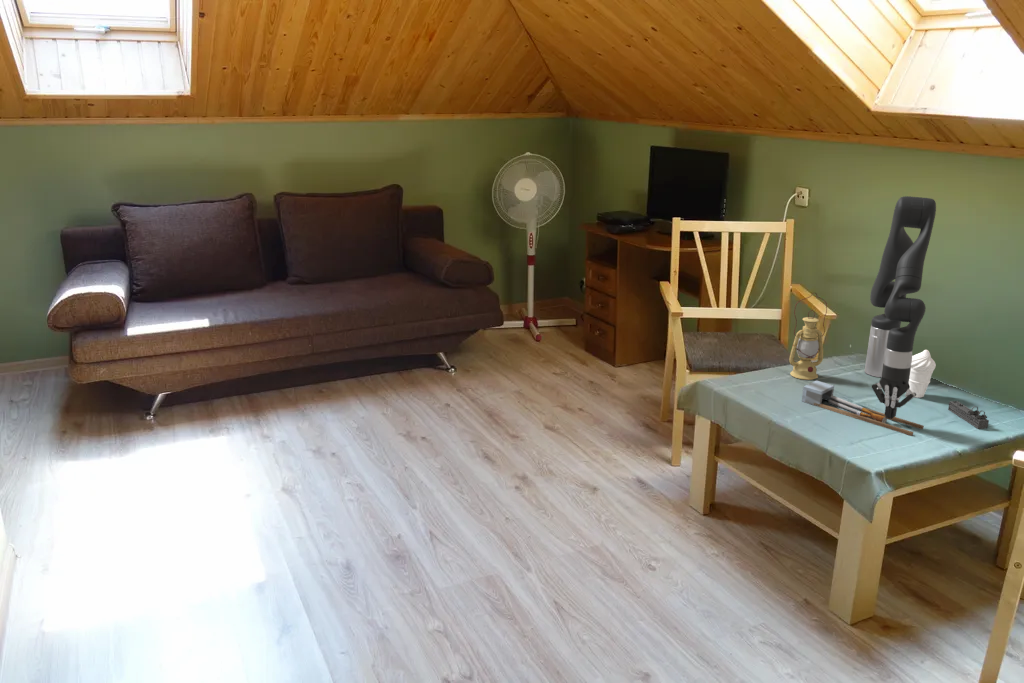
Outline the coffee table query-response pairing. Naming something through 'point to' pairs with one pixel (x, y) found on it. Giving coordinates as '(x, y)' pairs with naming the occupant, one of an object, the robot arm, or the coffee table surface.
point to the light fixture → (969, 415)
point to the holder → (821, 390)
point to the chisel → (871, 415)
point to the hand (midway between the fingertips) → (889, 417)
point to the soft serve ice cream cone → (921, 373)
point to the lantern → (807, 348)
